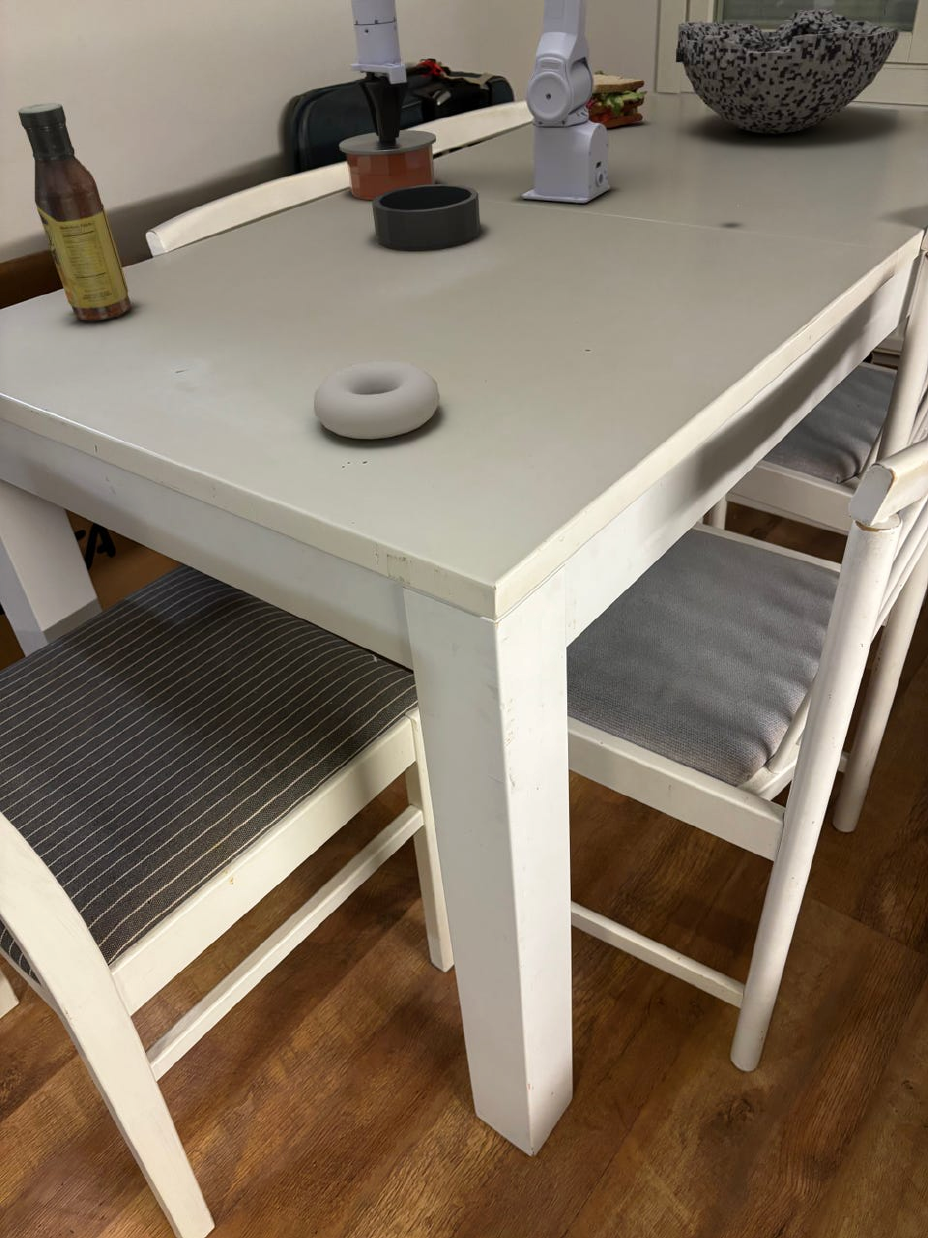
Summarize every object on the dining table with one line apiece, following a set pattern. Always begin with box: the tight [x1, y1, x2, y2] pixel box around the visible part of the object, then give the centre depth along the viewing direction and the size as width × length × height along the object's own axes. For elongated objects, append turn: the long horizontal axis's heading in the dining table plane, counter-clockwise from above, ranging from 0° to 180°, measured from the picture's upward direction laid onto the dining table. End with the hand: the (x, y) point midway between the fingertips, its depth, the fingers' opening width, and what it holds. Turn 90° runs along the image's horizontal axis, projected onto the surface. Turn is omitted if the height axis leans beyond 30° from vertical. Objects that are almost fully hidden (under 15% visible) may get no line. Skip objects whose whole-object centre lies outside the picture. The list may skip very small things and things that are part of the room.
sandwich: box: [585, 69, 648, 129], centre depth 161 cm, size 16×12×8 cm
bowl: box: [675, 9, 901, 135], centre depth 146 cm, size 31×31×15 cm
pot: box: [345, 144, 436, 201], centre depth 135 cm, size 12×12×6 cm
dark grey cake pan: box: [371, 183, 481, 252], centre depth 116 cm, size 13×13×4 cm
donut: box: [313, 360, 440, 440], centre depth 75 cm, size 10×4×10 cm
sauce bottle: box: [17, 102, 132, 322], centre depth 96 cm, size 7×6×20 cm
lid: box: [338, 112, 437, 155], centre depth 132 cm, size 14×14×5 cm
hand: (387, 136), depth 133 cm, fingers closed on lid, 2 cm apart
